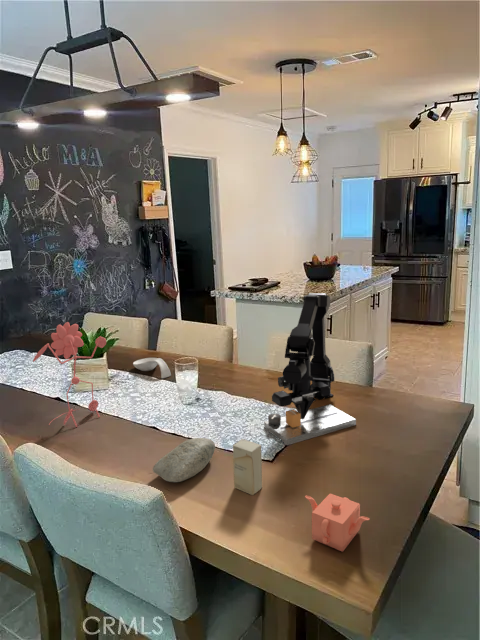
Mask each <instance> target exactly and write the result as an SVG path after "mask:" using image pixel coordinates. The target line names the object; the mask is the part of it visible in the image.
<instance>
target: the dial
mask: <svg viewBox="0 0 480 640" xmlns="http://www.w3.org/2000/svg"><path fill="white" fill-rule="evenodd" d="M281 417H282V416H281V414H279V413H270V414H269V415H268V418H267V421H268V422H269V424H272V425H277V424H280V423H281Z"/></svg>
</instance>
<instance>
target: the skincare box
mask: <svg viewBox="0 0 480 640" xmlns="http://www.w3.org/2000/svg"><path fill="white" fill-rule="evenodd" d="M232 457H233V458H232V460H233V463H232V464H233V486H234V489H237V490H239V491H241V492H244V493H246V494H249V495H251V496H254V495H255V494H257V492H259V491H260V490H261V489H262V488H263V474H262V473H263V472H262V471H263V468H262V466H263V464H262V461H263V460H262V444H260V443H257V442H254V441H251V440H248V439H245V438H241V439H240V440H238V441H237V442H235V443H234V444H233V445H232Z"/></svg>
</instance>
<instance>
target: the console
mask: <svg viewBox="0 0 480 640" xmlns="http://www.w3.org/2000/svg"><path fill="white" fill-rule="evenodd" d="M263 424H264V429H266V430H267V431H268V432H269V431H270V433H271V434H272V433H273V434H274V435H273V434H272V435H273V436H274V437H276V436H277V437H278V438H279V439H278V438H277V437H276V438H277V439H278V440H280V439H281V440H282V441H283V442H284V443H283V442H282V441H281V440H280V441H281V442H282V443H283V444H285V446H290V445H292V444H296V443H300V442H303V441H307V440H310V439H313V438H317V437H319V436H320V437H321V436H323V435H326V434H330V433H334V432H337V431H340V430H343V429H347V428H350V427H353V426H354V427H355V426H356V425H357V419H356V418H354V417H353V416H351V415H349V414H348V413H346V412H344V411H343V410H340V408H337V407H335V406H334V405H332V404H326V405H322V406H319V407H315V408H312V409H310V408H309V410H308V412H307V414H306V416H305V418H304V419H301V426H297V427H294V428H292V427H291V426H290V425H288V424H287V423H286V415H284V416H281V423H280V424H277V425H272V424H269V422H268V420H266V421H263Z"/></svg>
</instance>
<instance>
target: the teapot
mask: <svg viewBox="0 0 480 640" xmlns="http://www.w3.org/2000/svg"><path fill="white" fill-rule="evenodd" d="M304 498H306V499H307V500H308V501H309V503H310V505H311V510H312V512H311V539H312V540H314V541H316V542H318V543H321V544H323V545H325V546H328V547H330V548H333V549H335V550H337V551H340V552H344V551H345V550H346V549H347V547H348V546H349V544H350V543H351V542H352V541H353V540H354V538H355V536H356V535H357V534H358V532H360V529H361V527H362V524H363V523H364V522H366V521H370V517H368V516H364V515H362V516H361V515H360V514H361V503H359V502H356V501H353V500H351V499H349V498H348V497H345V496H344V497H342V496H338V495H335V494H333V493H329V494H328V495H326V497H325V498H324V499H323V500H322V501H321V502H320V503H319V504H317V502H316V500H315V499H314V498H313V497H312V496H310V495H305V496H304Z"/></svg>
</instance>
